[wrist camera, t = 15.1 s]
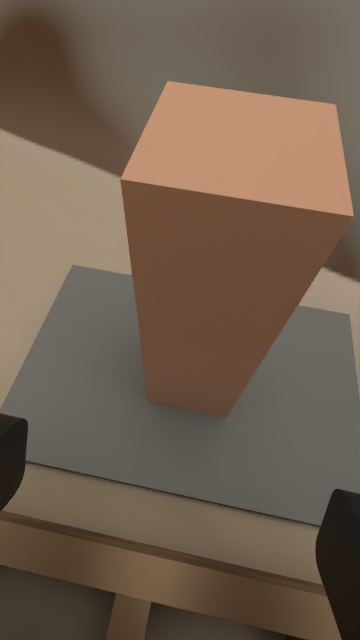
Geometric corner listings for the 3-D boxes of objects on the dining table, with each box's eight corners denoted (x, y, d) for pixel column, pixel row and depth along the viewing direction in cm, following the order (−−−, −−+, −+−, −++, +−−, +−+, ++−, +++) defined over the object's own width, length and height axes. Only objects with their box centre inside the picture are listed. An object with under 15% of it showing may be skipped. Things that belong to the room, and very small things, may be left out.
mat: (345, 319, 22) (349, 314, 22) (368, 537, 16) (375, 537, 15) (74, 270, 24) (72, 264, 23) (-15, 452, 17) (-21, 450, 16)
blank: (233, 347, 20) (335, 104, 8) (226, 418, 18) (353, 216, 6) (164, 334, 20) (167, 80, 9) (147, 402, 18) (120, 179, 6)
